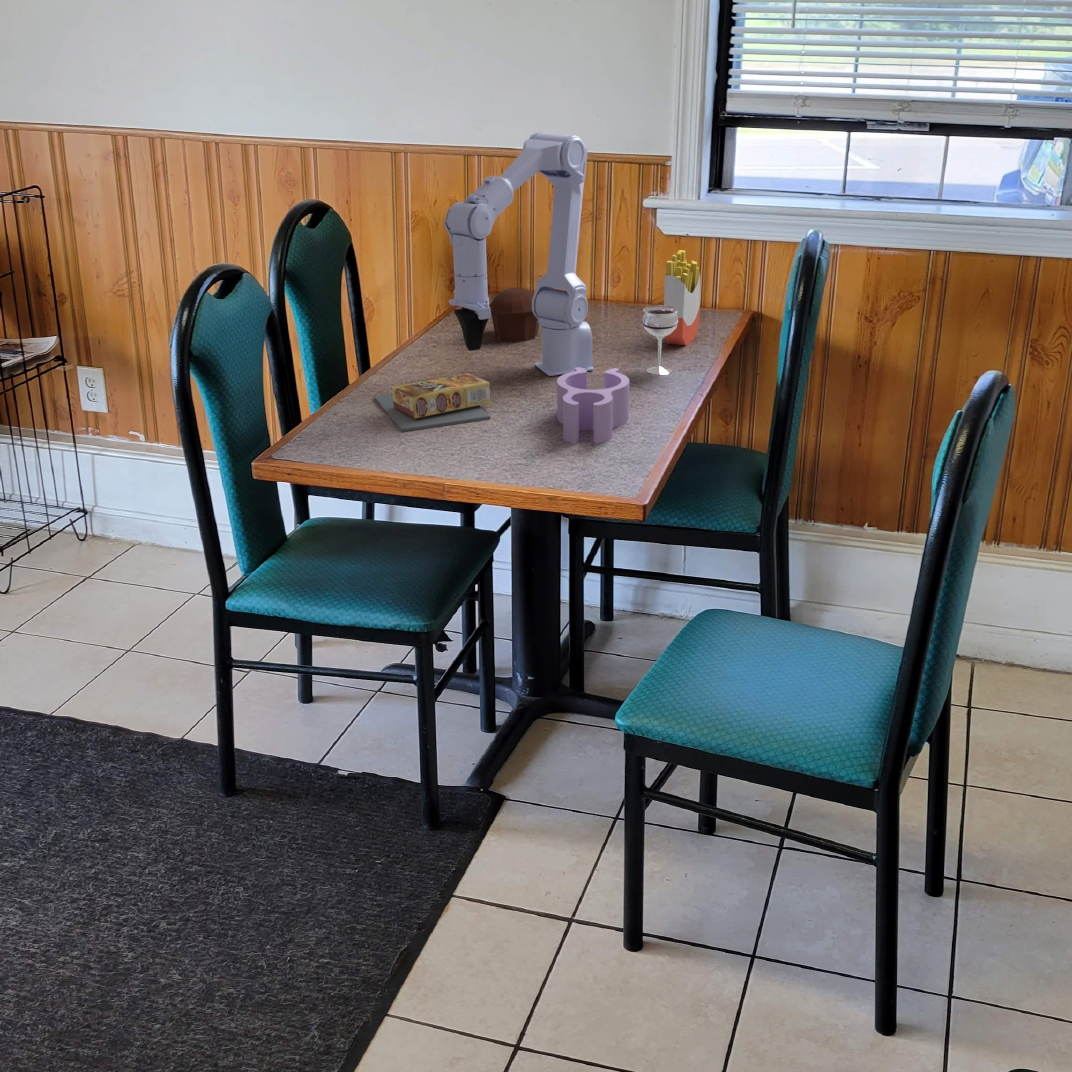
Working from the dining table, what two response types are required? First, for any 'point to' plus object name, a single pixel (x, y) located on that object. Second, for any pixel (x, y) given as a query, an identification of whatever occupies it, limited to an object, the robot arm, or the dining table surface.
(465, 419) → the mat
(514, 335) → the muffin
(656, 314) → the wineglass
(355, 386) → the dining table surface
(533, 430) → the dining table surface
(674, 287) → the french fries container
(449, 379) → the candy box
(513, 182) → the robot arm
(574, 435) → the clip
